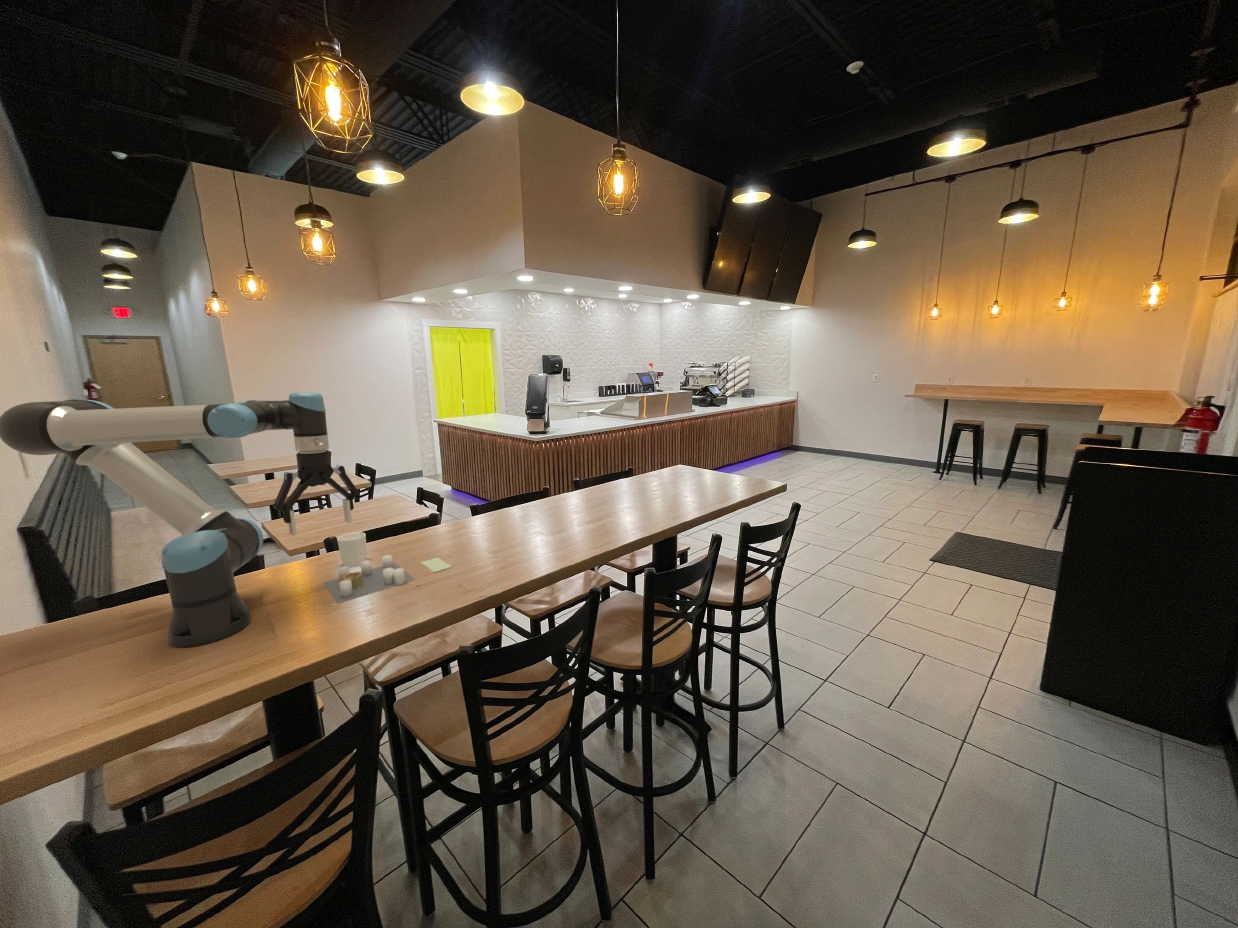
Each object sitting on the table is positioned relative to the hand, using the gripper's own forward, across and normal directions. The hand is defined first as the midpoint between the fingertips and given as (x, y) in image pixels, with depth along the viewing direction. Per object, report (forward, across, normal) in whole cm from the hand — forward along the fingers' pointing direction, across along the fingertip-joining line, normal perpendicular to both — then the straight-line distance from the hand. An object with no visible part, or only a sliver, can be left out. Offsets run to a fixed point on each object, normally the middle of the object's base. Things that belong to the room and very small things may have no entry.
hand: (321, 527), depth 129 cm
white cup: (+19, +13, +14) cm, 28 cm away
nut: (+18, +5, -4) cm, 19 cm away
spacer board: (+19, +9, -4) cm, 21 cm away
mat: (+18, +25, -7) cm, 32 cm away
